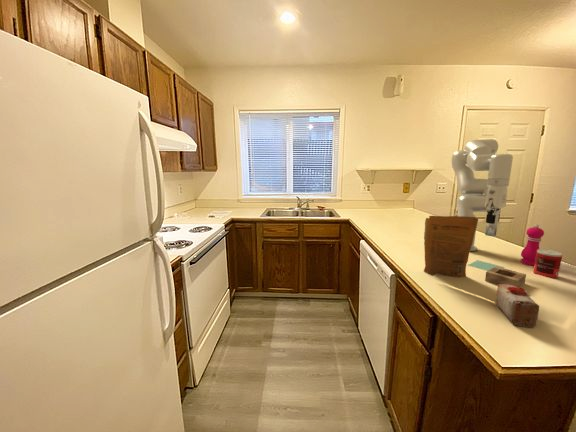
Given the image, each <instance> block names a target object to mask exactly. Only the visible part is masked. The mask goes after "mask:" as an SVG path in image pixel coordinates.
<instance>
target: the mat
mask: <svg viewBox="0 0 576 432" xmlns="http://www.w3.org/2000/svg"><path fill="white" fill-rule="evenodd" d="M467 266H468V267H473V268H475V269H479V270H482V271H486V272H487V271H489V270H490V269H492V268H494V267H496V266H497V267H500V268H504V269H505V266H501V265H498V264H494V263H491V262H486V261H482V260H478V259H476V260H475V261H473V262H471V263H469V264H467Z"/></svg>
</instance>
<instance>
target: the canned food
mask: <svg viewBox="0 0 576 432" xmlns="http://www.w3.org/2000/svg"><path fill="white" fill-rule="evenodd" d="M562 259H563V253H561V252H560V251H556V250H552V249H544V248H542V249H541V248H539V250H537V254H536V259H535V265H534V266H533V271H532V272H533V274H534V275H537V276H542V277H546V278H549V279H554V280H556V279H558V277H559V273H560V268H561V264H562Z"/></svg>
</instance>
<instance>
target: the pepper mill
mask: <svg viewBox="0 0 576 432" xmlns="http://www.w3.org/2000/svg"><path fill="white" fill-rule="evenodd" d="M526 235H527V237H526V240H527V242H526V244H525V247H524V248H523V249H522V250H521V252H520V256H521V257H522V258H521V259H520V263H521V264H523V265H525V264H526V265H525V266H530V267H534V265H535V259H536V254H537V250H539V249H540V243H541V242H542V237H544V235H545V231H544V229H542V228H540V225H539V224H535V223H534V225H533V227H528V229H526Z"/></svg>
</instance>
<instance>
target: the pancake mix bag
mask: <svg viewBox="0 0 576 432" xmlns="http://www.w3.org/2000/svg"><path fill="white" fill-rule="evenodd" d="M475 217H476V216H475ZM475 217H464V216H457V215H455V216H454V215H453V216H452V215H451V216H448V215H447V216H444V215H443V216H441V215H429V216H428V217H426V218H425V220H424V231H423V232H424V234H423V235H424V236H423V239H424V241H423V244H424V246H423V247H424V269H423V272H424V273H426V274H428V275H430V274H431V276H435V275H439V276H446V277H452V278H466V277H467V272H466V268H467V265H468V262H469V256H470V252H471V251H470V249H471V246H472V243H473V239H474V234H475V231H476V232H477V227H478V222H479V218H478V217H476V218H475ZM475 235H476V234H475Z"/></svg>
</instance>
